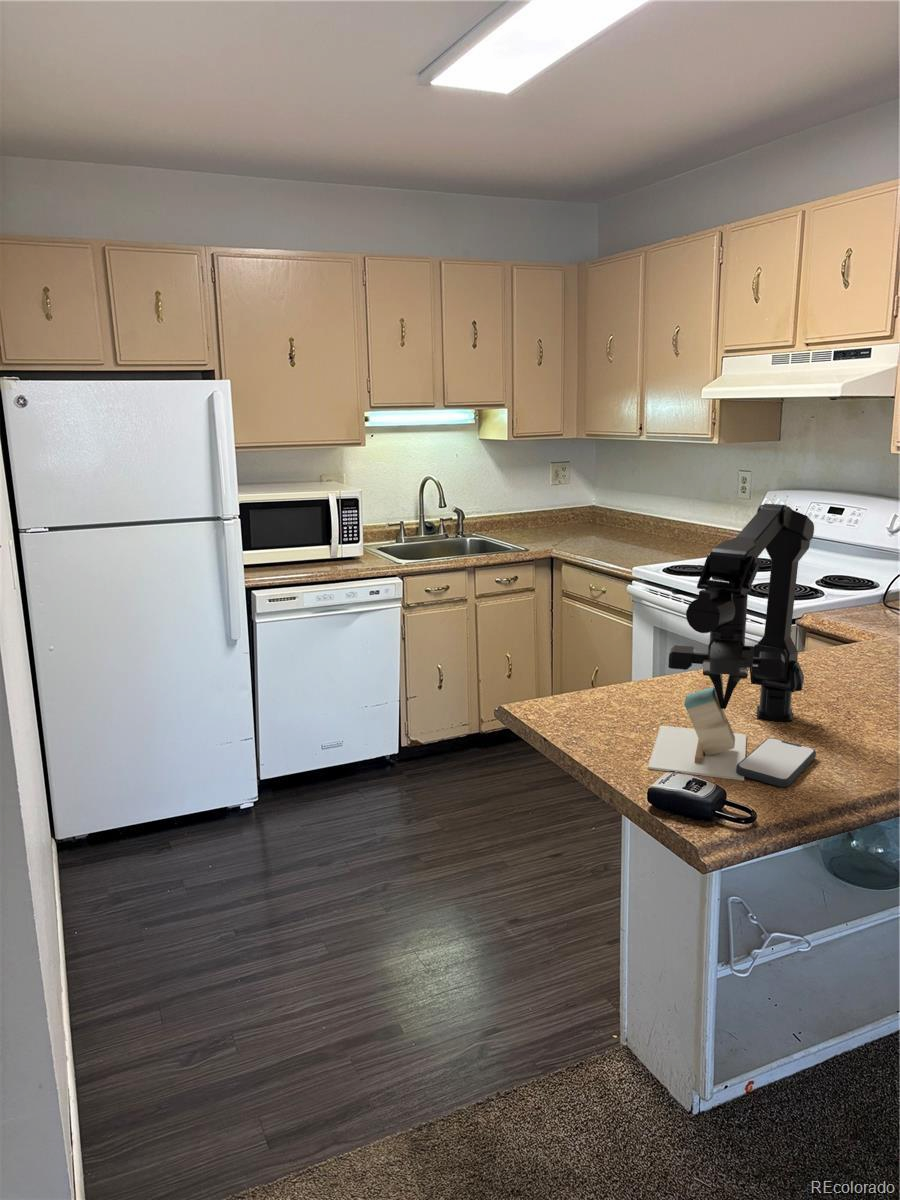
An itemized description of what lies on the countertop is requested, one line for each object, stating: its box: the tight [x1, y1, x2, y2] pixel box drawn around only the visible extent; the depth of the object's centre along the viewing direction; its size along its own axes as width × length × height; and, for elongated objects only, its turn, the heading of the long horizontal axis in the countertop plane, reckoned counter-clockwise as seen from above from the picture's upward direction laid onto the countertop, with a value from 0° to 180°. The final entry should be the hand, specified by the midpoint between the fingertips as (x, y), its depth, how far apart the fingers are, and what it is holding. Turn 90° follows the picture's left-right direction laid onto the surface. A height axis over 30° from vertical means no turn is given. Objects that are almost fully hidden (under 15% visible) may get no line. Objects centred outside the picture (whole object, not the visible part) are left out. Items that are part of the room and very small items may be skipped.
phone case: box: [736, 737, 817, 788], centre depth 145 cm, size 9×2×16 cm
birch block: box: [683, 686, 735, 756], centre depth 150 cm, size 5×5×10 cm
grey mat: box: [647, 725, 747, 782], centre depth 152 cm, size 20×16×1 cm
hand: (723, 708), depth 149 cm, fingers closed
